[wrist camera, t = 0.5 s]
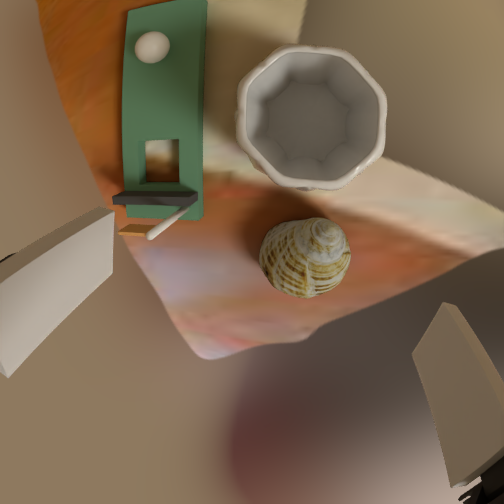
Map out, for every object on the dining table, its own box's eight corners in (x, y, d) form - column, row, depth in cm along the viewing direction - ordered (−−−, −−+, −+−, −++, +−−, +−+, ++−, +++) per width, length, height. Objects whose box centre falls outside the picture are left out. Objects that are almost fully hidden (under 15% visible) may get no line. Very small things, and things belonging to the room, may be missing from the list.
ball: (145, 39, 28) (129, 31, 24) (176, 33, 28) (162, 24, 24) (143, 68, 30) (127, 63, 26) (174, 63, 29) (159, 57, 25)
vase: (219, 119, 33) (167, 114, 19) (308, 41, 28) (313, -15, 14) (301, 205, 36) (303, 256, 22) (390, 131, 31) (449, 135, 17)
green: (135, 15, 28) (82, -12, 17) (207, 2, 27) (171, -40, 16) (134, 213, 39) (81, 245, 28) (203, 215, 38) (165, 252, 27)
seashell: (246, 273, 39) (246, 274, 29) (279, 207, 40) (289, 187, 30) (315, 307, 39) (337, 319, 29) (346, 242, 40) (376, 233, 30)
